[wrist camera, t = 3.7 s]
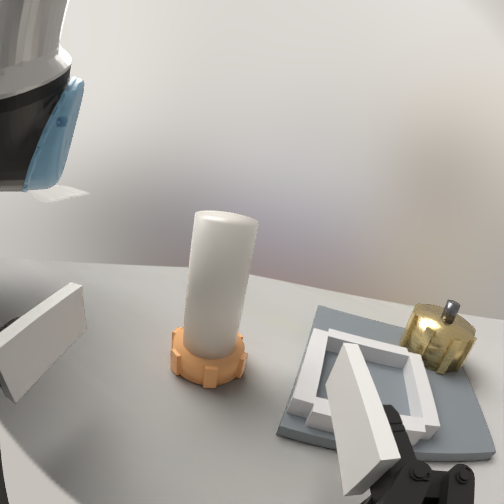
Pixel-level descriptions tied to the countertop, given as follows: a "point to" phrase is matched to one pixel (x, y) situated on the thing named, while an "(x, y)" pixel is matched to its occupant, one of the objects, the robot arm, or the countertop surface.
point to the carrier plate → (387, 391)
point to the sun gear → (439, 336)
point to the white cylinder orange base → (215, 299)
